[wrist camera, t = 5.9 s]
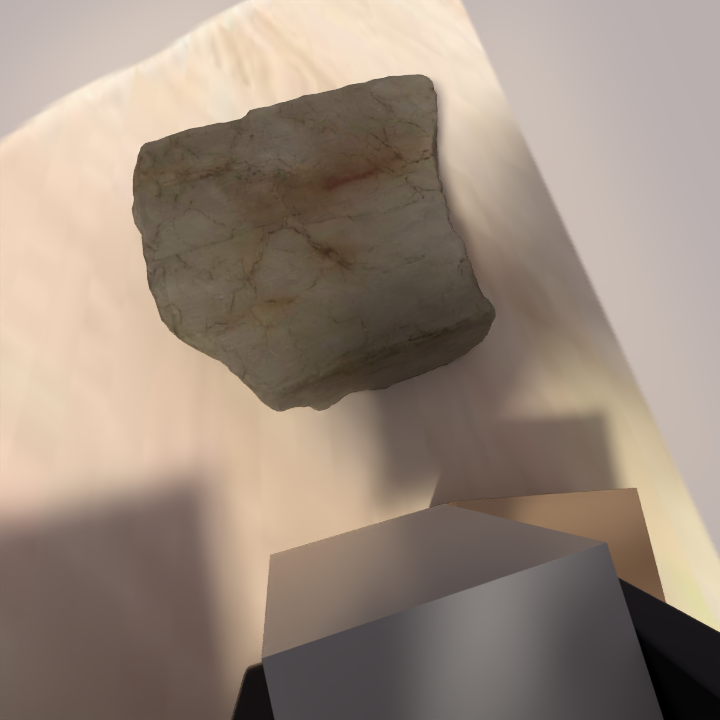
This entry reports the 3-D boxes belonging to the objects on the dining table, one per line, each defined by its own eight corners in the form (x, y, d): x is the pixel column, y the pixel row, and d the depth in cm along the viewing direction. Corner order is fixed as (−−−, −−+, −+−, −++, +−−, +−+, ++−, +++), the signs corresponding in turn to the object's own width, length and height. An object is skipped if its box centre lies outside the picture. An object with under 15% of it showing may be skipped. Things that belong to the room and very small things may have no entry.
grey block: (494, 688, 14) (732, 934, 7) (314, 756, 13) (362, 1135, 6) (443, 503, 15) (606, 542, 7) (270, 555, 14) (261, 658, 6)
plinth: (620, 678, 20) (692, 707, 17) (450, 700, 19) (487, 735, 16) (580, 497, 23) (636, 487, 19) (428, 509, 22) (455, 501, 18)
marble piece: (418, 118, 30) (437, 53, 26) (535, 337, 26) (578, 299, 22) (126, 183, 26) (96, 118, 22) (208, 453, 22) (190, 432, 18)
